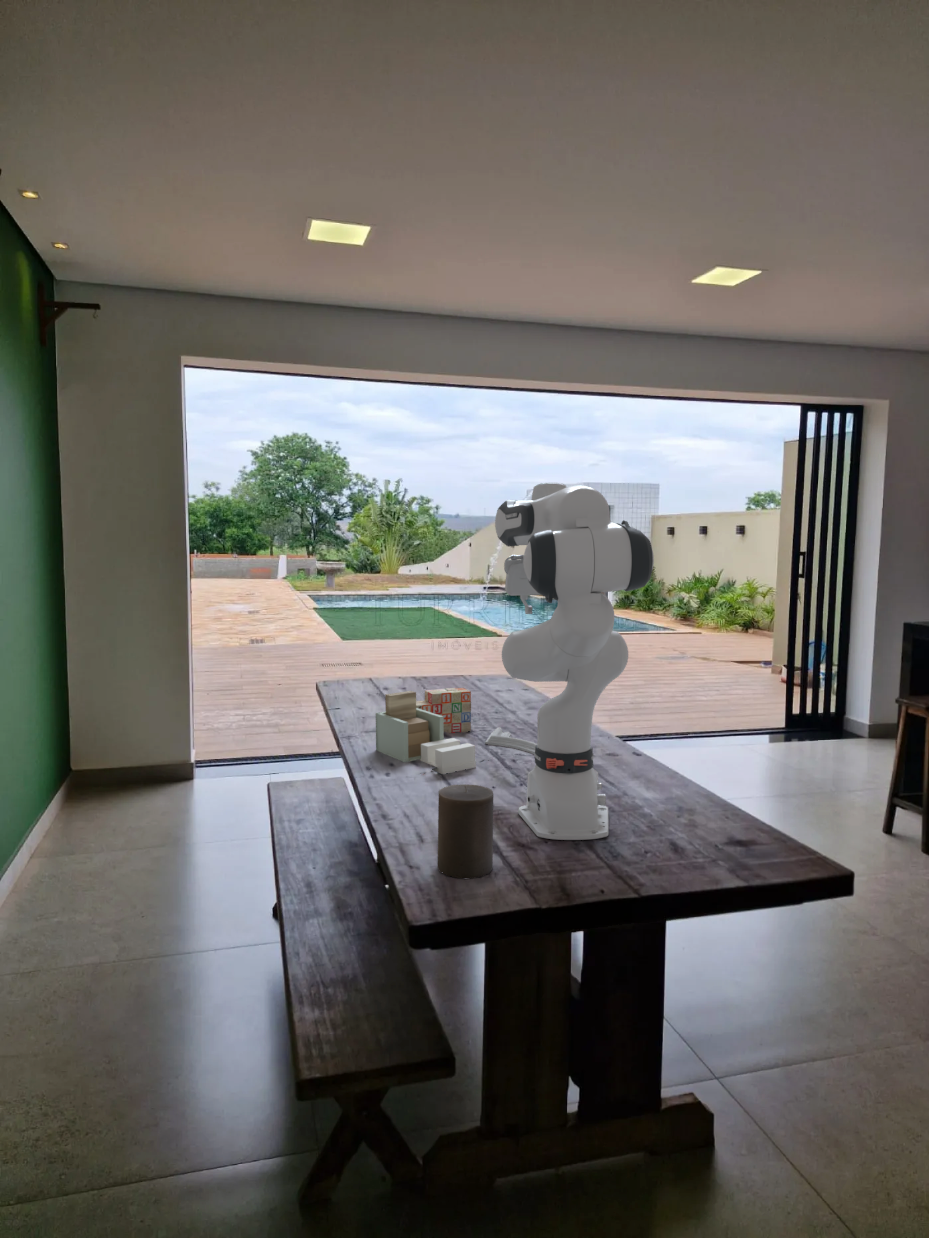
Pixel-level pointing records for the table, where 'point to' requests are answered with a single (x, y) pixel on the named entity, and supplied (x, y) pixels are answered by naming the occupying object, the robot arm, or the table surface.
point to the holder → (448, 755)
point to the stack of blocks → (449, 707)
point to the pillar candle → (465, 831)
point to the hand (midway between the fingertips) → (548, 613)
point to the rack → (407, 734)
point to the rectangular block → (401, 705)
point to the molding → (509, 741)
